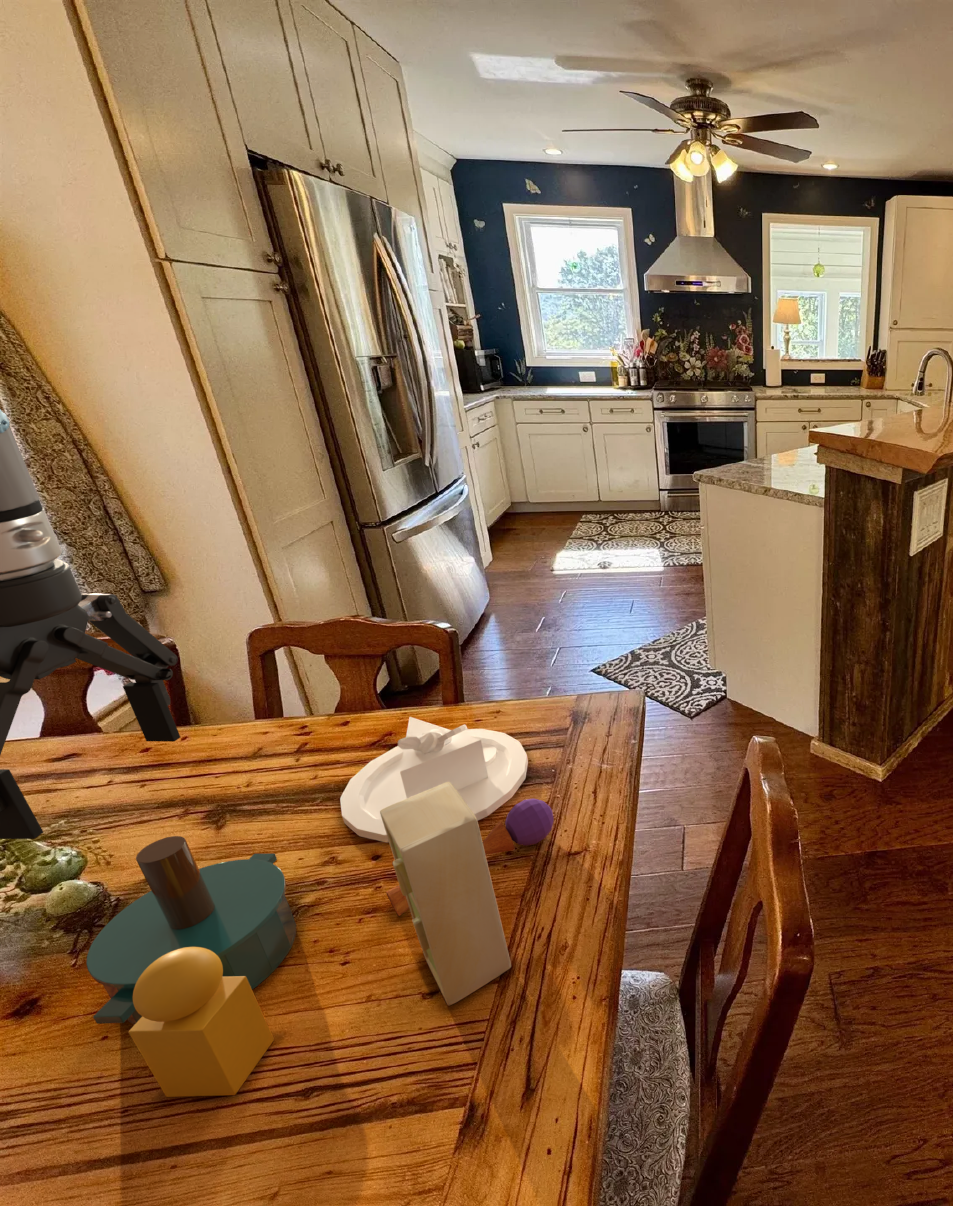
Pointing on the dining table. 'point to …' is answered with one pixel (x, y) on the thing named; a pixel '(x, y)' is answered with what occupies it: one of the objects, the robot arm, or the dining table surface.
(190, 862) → the lid
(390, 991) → the dining table surface
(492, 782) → the dish
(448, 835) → the toy refrigerator
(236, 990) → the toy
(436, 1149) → the dining table surface
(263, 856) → the pot
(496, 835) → the kendama
